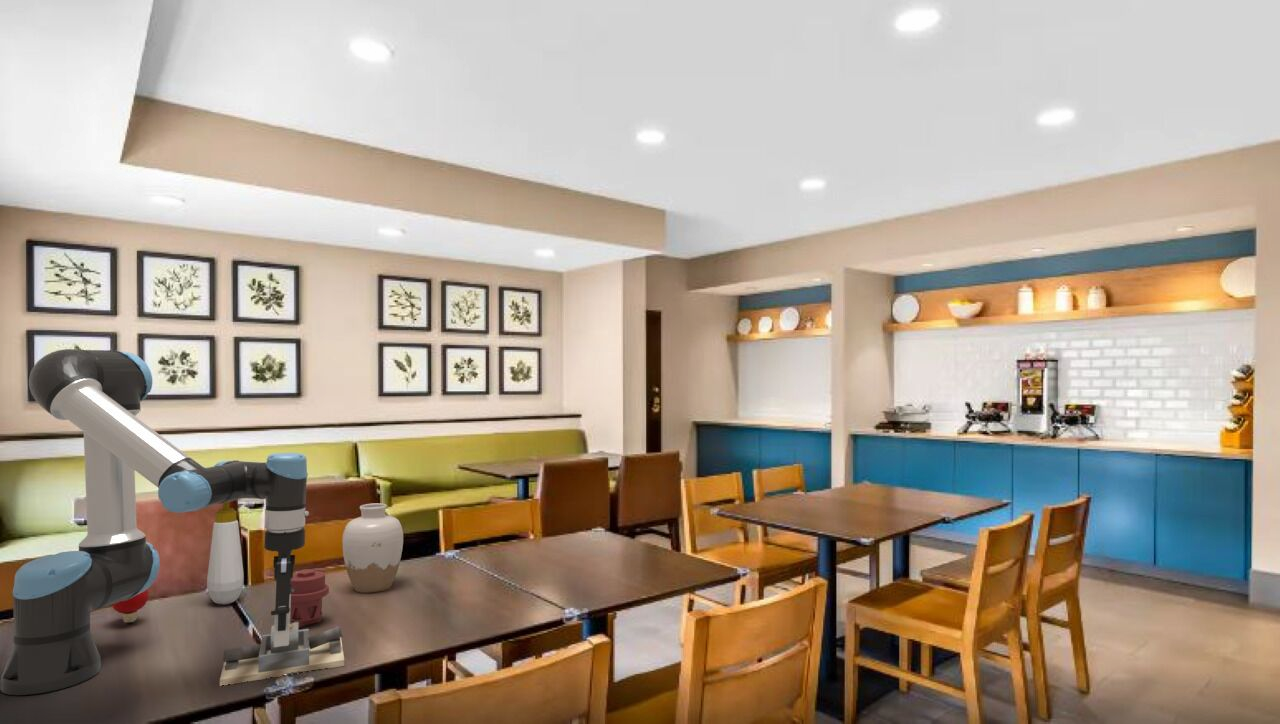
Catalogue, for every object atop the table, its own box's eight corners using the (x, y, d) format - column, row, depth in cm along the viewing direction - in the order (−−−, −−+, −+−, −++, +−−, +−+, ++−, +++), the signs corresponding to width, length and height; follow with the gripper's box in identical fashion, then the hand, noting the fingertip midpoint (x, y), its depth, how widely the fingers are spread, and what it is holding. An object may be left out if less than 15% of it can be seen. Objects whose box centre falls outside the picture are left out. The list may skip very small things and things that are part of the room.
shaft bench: (219, 686, 136) (219, 654, 137) (226, 659, 149) (226, 630, 149) (344, 665, 146) (344, 636, 146) (341, 642, 158) (341, 615, 159)
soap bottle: (195, 599, 189) (196, 489, 189) (240, 592, 195) (240, 485, 195) (200, 612, 179) (200, 495, 179) (246, 604, 185) (247, 491, 185)
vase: (381, 576, 210) (381, 498, 210) (414, 585, 201) (415, 504, 201) (330, 589, 197) (330, 506, 197) (364, 600, 188) (364, 513, 188)
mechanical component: (337, 617, 175) (310, 632, 165) (301, 614, 177) (272, 629, 167) (337, 566, 175) (311, 578, 165) (301, 564, 177) (273, 575, 167)
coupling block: (270, 663, 144) (270, 630, 144) (271, 654, 149) (271, 622, 149) (298, 659, 146) (298, 626, 146) (298, 650, 151) (298, 619, 151)
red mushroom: (152, 624, 170) (152, 582, 170) (116, 632, 165) (117, 588, 165) (142, 615, 177) (142, 574, 177) (107, 622, 172) (108, 580, 172)
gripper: (305, 539, 139) (302, 653, 138) (305, 516, 160) (302, 615, 160) (261, 542, 136) (258, 659, 135) (267, 518, 157) (264, 619, 156)
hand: (282, 635), depth 147 cm, fingers open, 11 cm apart
